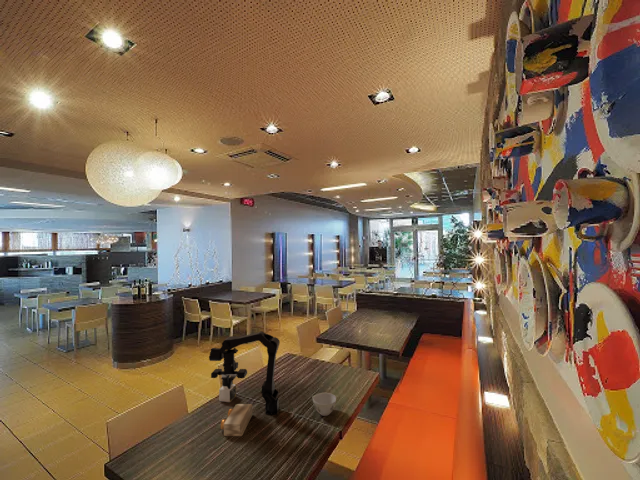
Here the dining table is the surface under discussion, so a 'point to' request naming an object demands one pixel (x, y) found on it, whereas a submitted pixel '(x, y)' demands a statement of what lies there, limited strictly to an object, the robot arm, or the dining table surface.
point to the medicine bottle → (227, 392)
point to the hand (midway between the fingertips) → (229, 388)
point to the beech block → (238, 420)
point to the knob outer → (222, 424)
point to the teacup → (324, 403)
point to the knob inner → (229, 411)
